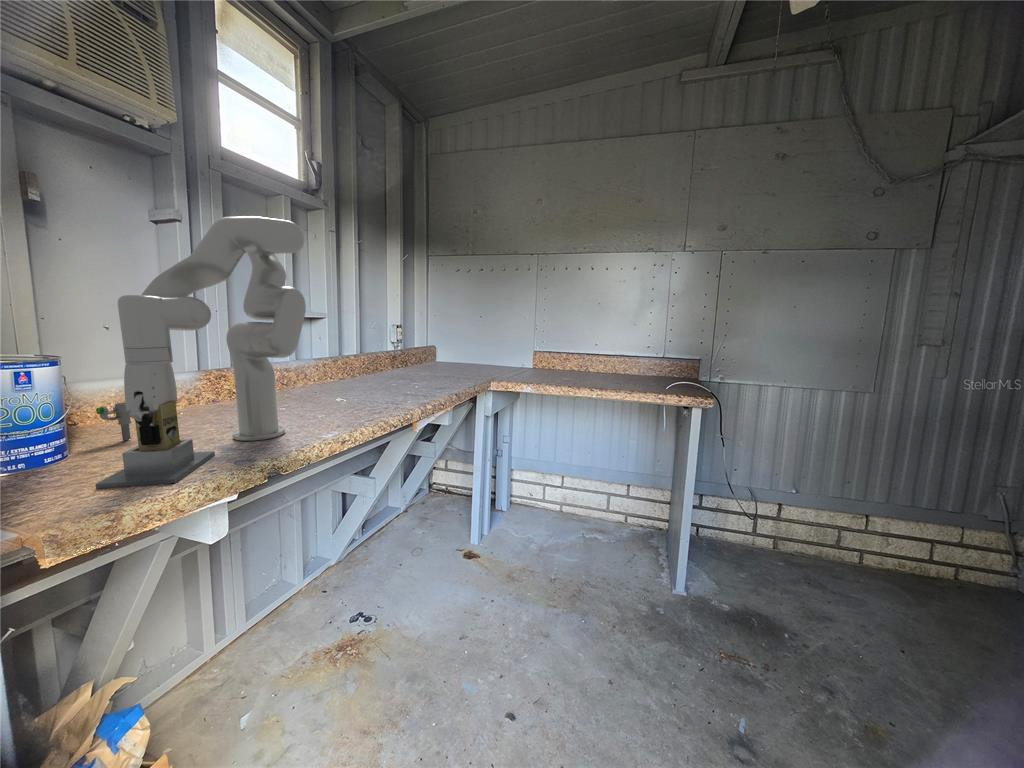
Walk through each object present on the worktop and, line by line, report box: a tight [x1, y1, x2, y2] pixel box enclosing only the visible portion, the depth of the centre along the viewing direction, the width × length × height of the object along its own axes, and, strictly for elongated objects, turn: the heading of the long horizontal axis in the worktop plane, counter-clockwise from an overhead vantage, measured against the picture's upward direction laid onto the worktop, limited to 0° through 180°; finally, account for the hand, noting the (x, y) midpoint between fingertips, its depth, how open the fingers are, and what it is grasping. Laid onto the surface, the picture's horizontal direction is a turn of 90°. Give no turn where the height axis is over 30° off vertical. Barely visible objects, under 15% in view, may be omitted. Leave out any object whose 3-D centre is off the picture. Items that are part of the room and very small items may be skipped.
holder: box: [94, 438, 216, 490], centre depth 90 cm, size 18×13×6 cm
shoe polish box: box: [134, 400, 181, 451], centre depth 89 cm, size 5×5×12 cm
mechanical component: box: [95, 401, 132, 441], centre depth 110 cm, size 3×10×10 cm, turn 160°
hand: (159, 439), depth 89 cm, fingers closed on shoe polish box, 5 cm apart
